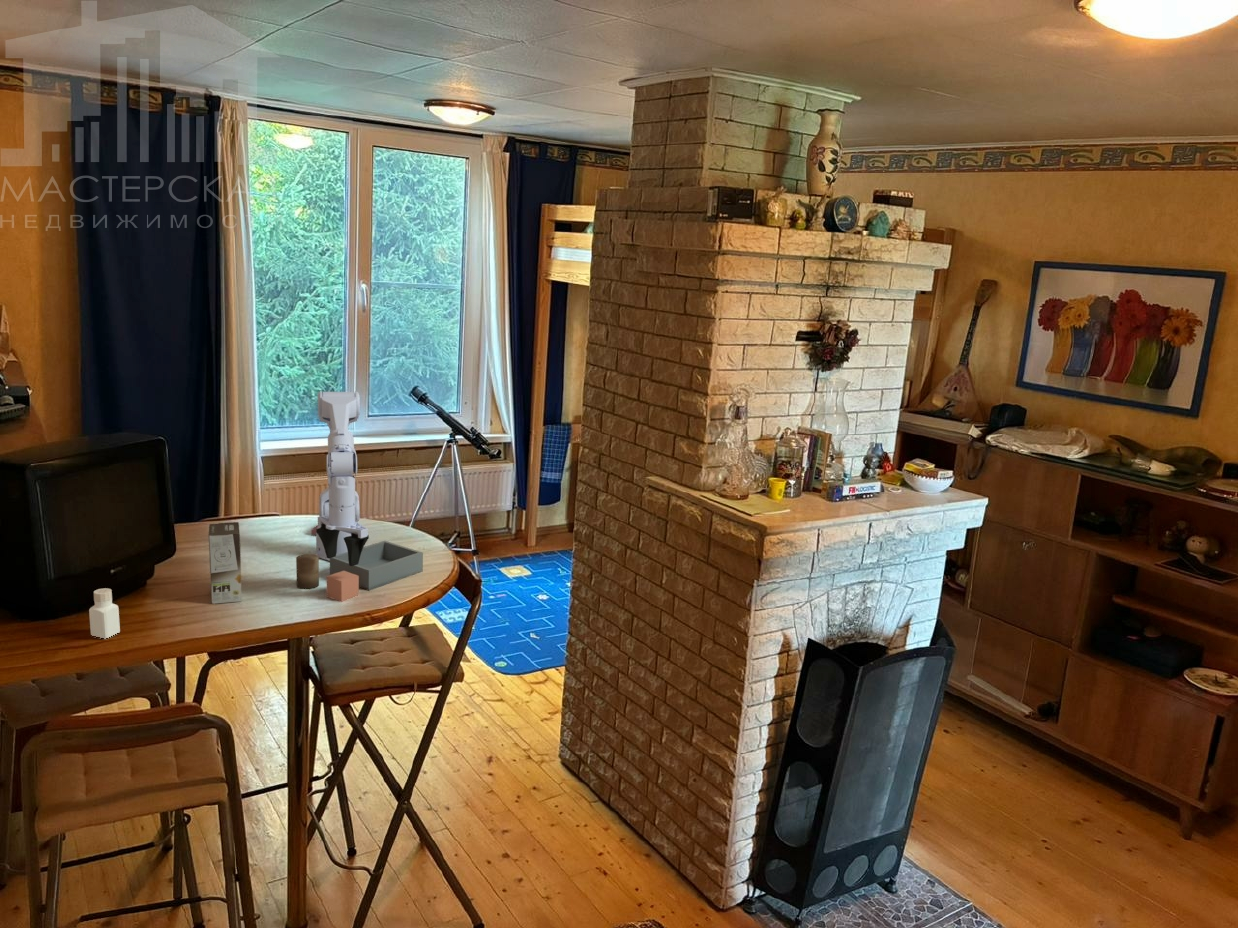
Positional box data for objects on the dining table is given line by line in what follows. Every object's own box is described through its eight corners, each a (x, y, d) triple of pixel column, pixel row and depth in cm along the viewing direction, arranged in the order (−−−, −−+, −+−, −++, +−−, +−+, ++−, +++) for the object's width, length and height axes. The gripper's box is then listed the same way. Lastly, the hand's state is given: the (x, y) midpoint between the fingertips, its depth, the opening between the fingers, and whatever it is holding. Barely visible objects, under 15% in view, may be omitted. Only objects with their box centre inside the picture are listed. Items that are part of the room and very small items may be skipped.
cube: (326, 596, 215) (326, 576, 214) (344, 590, 219) (343, 570, 218) (341, 602, 212) (341, 581, 211) (358, 596, 216) (358, 575, 215)
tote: (330, 576, 227) (329, 557, 226) (384, 558, 241) (384, 540, 240) (368, 590, 220) (368, 570, 219) (422, 571, 234) (422, 552, 233)
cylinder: (292, 585, 220) (291, 557, 218) (309, 580, 224) (309, 552, 222) (306, 591, 217) (305, 562, 216) (323, 585, 221) (323, 557, 220)
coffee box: (242, 601, 209) (240, 533, 205) (211, 604, 206) (208, 535, 202) (241, 587, 217) (238, 521, 213) (211, 589, 214) (208, 523, 211)
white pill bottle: (105, 629, 190) (102, 586, 188) (121, 633, 189) (118, 589, 187) (89, 637, 187) (86, 592, 185) (105, 640, 186) (102, 595, 183)
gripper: (306, 501, 211) (307, 557, 214) (350, 514, 203) (350, 572, 206) (331, 495, 217) (331, 550, 220) (374, 507, 209) (374, 564, 212)
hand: (342, 561), depth 214 cm, fingers open, 7 cm apart
